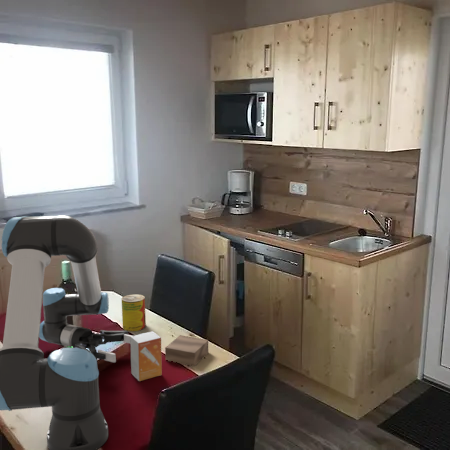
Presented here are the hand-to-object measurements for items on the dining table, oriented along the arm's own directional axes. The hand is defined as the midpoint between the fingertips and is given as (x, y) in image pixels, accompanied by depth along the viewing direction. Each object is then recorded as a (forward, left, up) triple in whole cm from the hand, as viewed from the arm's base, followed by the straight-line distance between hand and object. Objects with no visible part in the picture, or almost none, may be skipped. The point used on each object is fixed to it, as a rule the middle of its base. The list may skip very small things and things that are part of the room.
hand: (128, 349), depth 169 cm
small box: (0, -7, -7) cm, 10 cm away
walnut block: (+17, -12, -7) cm, 22 cm away
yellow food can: (+30, +20, -7) cm, 36 cm away
